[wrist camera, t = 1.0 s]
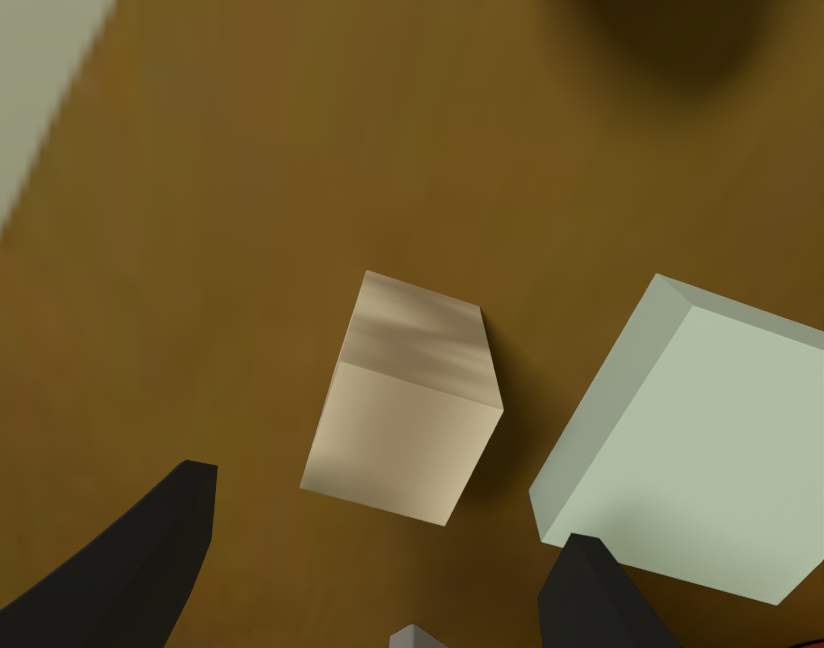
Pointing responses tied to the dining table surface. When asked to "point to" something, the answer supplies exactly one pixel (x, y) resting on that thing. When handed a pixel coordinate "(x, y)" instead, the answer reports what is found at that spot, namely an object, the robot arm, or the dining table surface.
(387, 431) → the beech block
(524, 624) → the dining table surface
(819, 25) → the dining table surface
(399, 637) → the lighter
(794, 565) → the stacking block
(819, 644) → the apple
